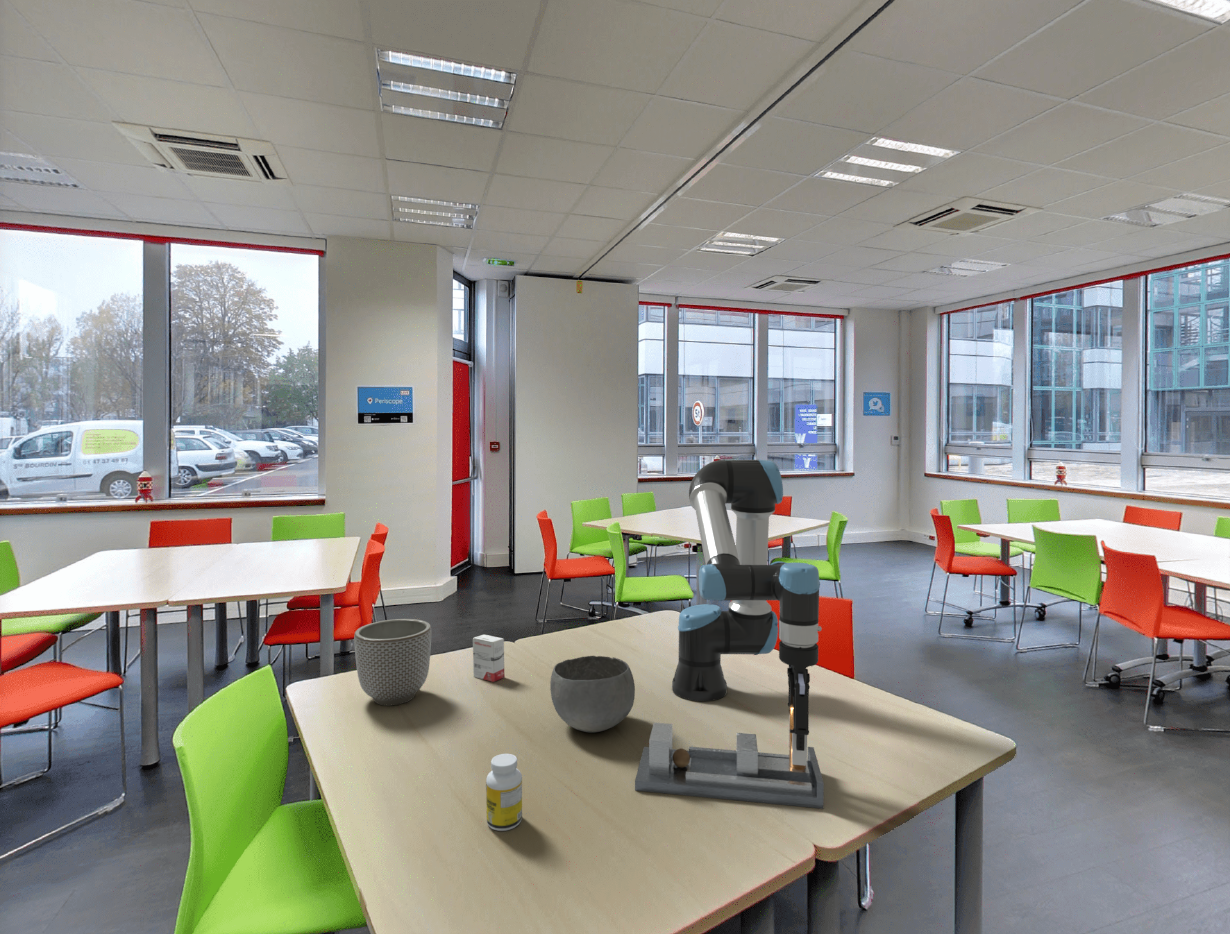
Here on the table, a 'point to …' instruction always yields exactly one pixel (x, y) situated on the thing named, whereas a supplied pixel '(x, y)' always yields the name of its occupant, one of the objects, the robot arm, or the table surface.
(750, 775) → the ram handle
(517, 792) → the pill bottle
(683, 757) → the walnut
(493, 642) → the ink box
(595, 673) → the bowl
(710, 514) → the robot arm
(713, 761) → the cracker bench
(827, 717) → the table surface
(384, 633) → the planter
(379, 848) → the table surface
